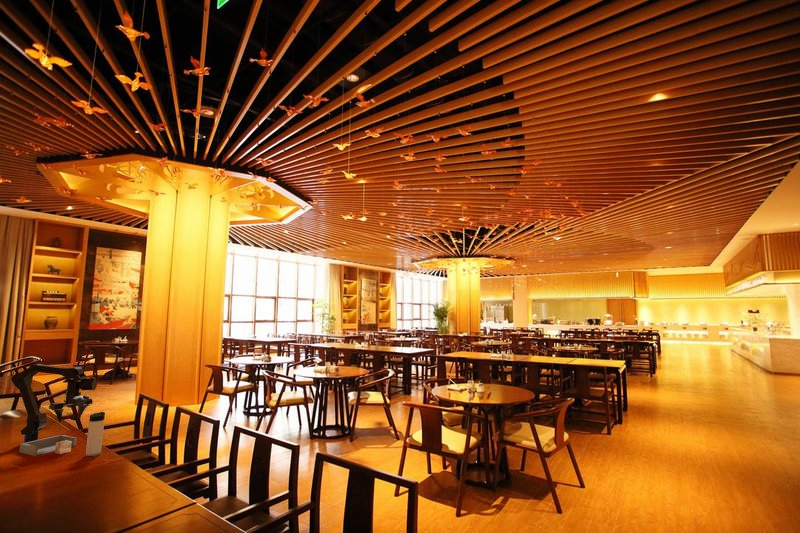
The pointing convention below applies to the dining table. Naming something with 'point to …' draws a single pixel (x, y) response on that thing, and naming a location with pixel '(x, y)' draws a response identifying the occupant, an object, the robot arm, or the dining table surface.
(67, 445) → the birch block
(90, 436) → the travel mug
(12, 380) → the robot arm
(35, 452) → the slate box
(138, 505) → the dining table surface
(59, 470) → the dining table surface
